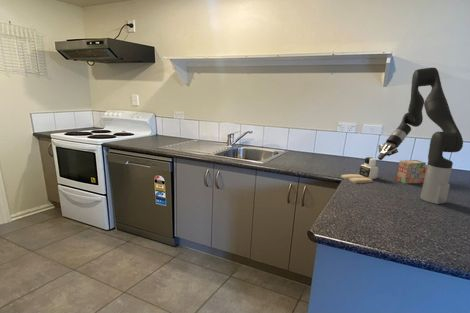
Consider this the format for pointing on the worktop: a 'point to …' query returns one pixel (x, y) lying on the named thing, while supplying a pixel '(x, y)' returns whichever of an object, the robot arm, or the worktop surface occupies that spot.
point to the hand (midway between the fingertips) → (379, 159)
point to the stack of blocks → (411, 171)
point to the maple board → (356, 178)
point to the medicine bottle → (369, 168)
